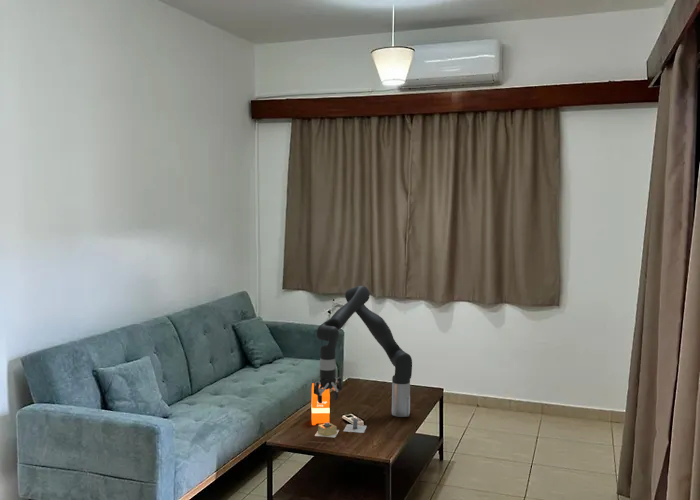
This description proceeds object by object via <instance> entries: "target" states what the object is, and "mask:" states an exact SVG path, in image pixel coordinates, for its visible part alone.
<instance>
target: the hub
mask: <svg viewBox="0 0 700 500" xmlns="http://www.w3.org/2000/svg"><path fill="white" fill-rule="evenodd" d="M324 424H325V427H330V422H329V423H328V422H326V423H324ZM339 431H340V429H337V434H333V435H329V436H324V435H322V434H320V433H319V432H318V430H317V431H316V433H315V434H314V436H315V437H323V438H336V437H337V436H338V433H339Z"/></svg>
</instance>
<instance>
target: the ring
mask: <svg viewBox="0 0 700 500" xmlns="http://www.w3.org/2000/svg"><path fill="white" fill-rule="evenodd" d="M329 423H330V422H329ZM337 428H338V427H337V425H335V424H333V423H330V427H325V423H319V424H317V431H318V432H319V433H320V434H322V435H324V436H329V435H333V434H337V430H338V429H337ZM337 435H338V434H337Z"/></svg>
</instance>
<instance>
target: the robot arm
mask: <svg viewBox="0 0 700 500" xmlns="http://www.w3.org/2000/svg"><path fill="white" fill-rule="evenodd" d="M344 295H345V300H346V303H345V304H344V305H342V306H341V307H339V309H337V310H336V311H335V312H334V314H332V315H331V317H330V318H329V319H327V320H326V321H324V322H323V323H321V324H320V325H319V326H318V327H317V330H316V337H317V339H318V340H320V341H325V342H328V343H327V344H324V345H321V346H320V348H319V349H320V352H319V353H320V355H319V356H320V359H319V378H320V379H319V381H314V382H313V383H314V394H316V395H317V398H318V399H317V401H318V402H319V403H322V393H323V392H324V391H325V389H326V390H327V389H329V390H331V389H332V390H333V393H332V395H333V397H332V398H333V400H334V401H337V400H338V399H339V392H340V391H342V378H340V377H338V376H337V377H336V375H337V373H336V372H337V370H336V368H337V365H336V364H337V363H336V348H337V343H338V340H339V336H340V332H339V331H340V330H341V329H342V328H343V326H345V325H346V323H347V322H348V321H349V320H350V318H351V317H353V315H354V314H355V313H356V314H357V315H358V317H359V318H360V319H361V320H362V322H363V323H364V325H365V326H366V328H367V329H368V331H369V332H370V334H371V335H372V336H373V338H374V339H375V341H376V342H377V343H378V344H379V345H380V346H381V348H382V349H383V350H384V352H385V353H386V355H387V357H388V359H389V361H390V362H391V364H392V365H393V367H395V368H394V374H393V376H392V379H391V380H392V381H391V390H392V391H391V415H392V416H393V417H396V418H397V417H399V418H404V417H405V418H406V417H410V413H411V378H412V371H413V359H412V356H411V355H410V354H409V353H407V352H406V351H404V350H403V349H402V348H401V347H400V345H398V342H396V340H395V338H394V336H393V333H392V331H391V328H390V326H389V325H388V324H387V322H386V321H385V319H384V318H383V317H381V316H380V315H379V314H377V313H376V312H374V311H372V310H370V309H369V308H368V307H367V306H366V305H365V304H366V303H367V302H368V301H369V299H370V296H371V295H370V291H369V289H368V288H367V286H366V285H357V286H355V287H351V288H349V289H348V290H346V291H345V294H344ZM319 386H320V387H319ZM322 388H323V389H322Z"/></svg>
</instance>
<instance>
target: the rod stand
mask: <svg viewBox="0 0 700 500" xmlns="http://www.w3.org/2000/svg"><path fill="white" fill-rule="evenodd" d="M358 421H359V420H358V418H353V419H352V424H349V423H346V425H345V427H344V429H343V432H349V433H360V434H361V433H362V434H364V433H365V432H366V429H367V428H368V427H367V425H364V424H363V425H362V426H358V425H359V424H358Z"/></svg>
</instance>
